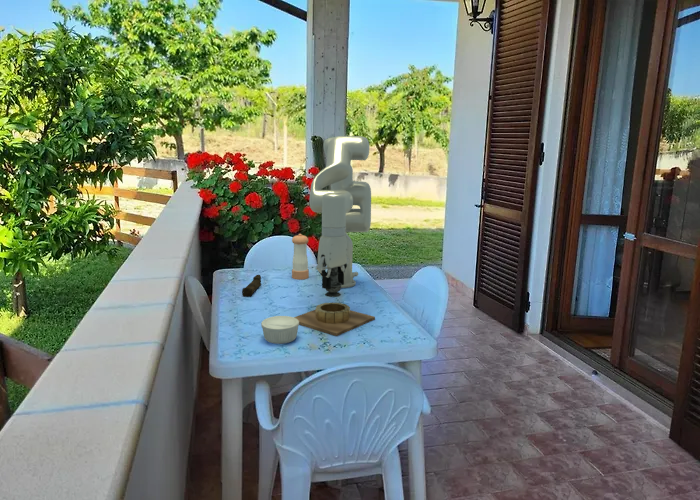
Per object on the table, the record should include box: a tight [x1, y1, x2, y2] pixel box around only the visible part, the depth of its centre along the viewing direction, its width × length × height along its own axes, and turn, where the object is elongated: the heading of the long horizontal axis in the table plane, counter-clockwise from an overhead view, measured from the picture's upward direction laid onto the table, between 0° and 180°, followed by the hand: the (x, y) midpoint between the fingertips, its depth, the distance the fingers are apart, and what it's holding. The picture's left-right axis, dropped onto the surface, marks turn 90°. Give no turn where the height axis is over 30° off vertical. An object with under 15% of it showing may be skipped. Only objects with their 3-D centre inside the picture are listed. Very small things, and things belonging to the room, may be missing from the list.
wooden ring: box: [315, 301, 351, 324], centre depth 170 cm, size 11×11×4 cm
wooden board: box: [293, 309, 376, 337], centre depth 171 cm, size 20×20×1 cm
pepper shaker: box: [291, 233, 310, 281], centre depth 222 cm, size 7×7×19 cm
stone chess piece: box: [324, 267, 342, 298], centre depth 168 cm, size 6×6×12 cm
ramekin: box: [260, 315, 300, 345], centre depth 155 cm, size 11×11×5 cm
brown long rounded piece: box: [241, 274, 262, 298], centre depth 204 cm, size 19×4×5 cm, turn 173°
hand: (333, 286), depth 168 cm, fingers closed on stone chess piece, 5 cm apart
